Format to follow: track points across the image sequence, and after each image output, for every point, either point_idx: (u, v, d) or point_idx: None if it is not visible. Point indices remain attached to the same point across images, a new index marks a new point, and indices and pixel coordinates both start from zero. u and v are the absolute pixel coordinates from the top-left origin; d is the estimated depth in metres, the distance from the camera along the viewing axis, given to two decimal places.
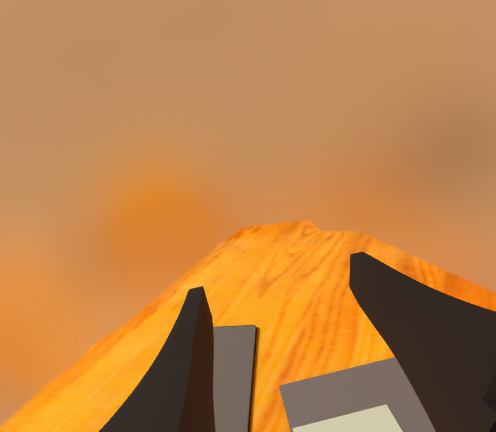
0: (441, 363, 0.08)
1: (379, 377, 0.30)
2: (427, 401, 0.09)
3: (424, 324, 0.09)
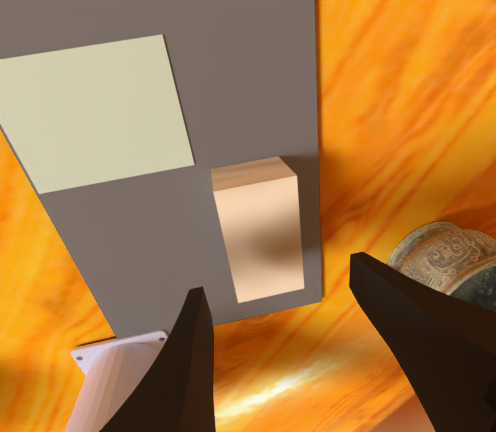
0: (441, 363, 0.08)
1: None
2: (427, 401, 0.09)
3: (424, 324, 0.09)
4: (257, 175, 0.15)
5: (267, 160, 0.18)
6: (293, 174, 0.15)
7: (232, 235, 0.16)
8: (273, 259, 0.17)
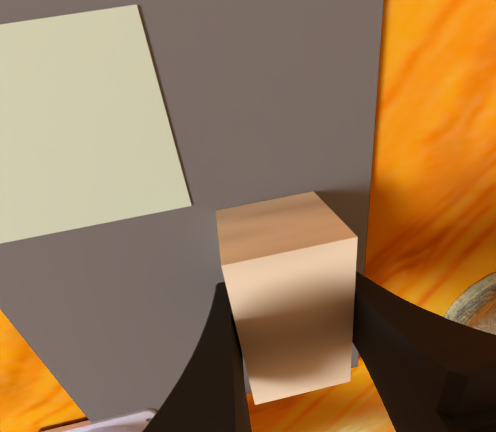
0: (401, 373, 0.08)
1: None
2: (392, 410, 0.09)
3: (386, 333, 0.09)
4: (291, 232, 0.10)
5: (298, 198, 0.12)
6: (350, 234, 0.09)
7: (250, 323, 0.10)
8: (309, 349, 0.11)
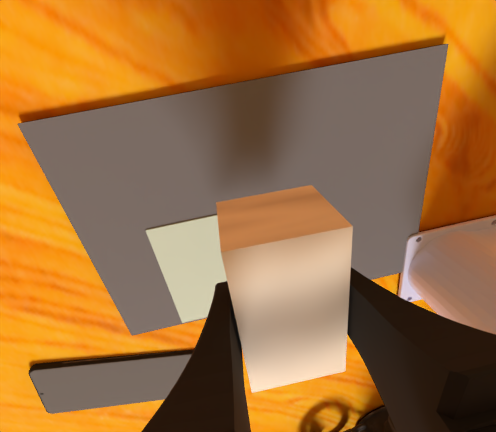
0: (402, 373, 0.08)
1: (101, 226, 0.19)
2: (393, 410, 0.09)
3: (386, 333, 0.09)
4: (288, 221, 0.10)
5: (297, 191, 0.12)
6: (346, 224, 0.09)
7: (248, 310, 0.10)
8: (305, 338, 0.11)
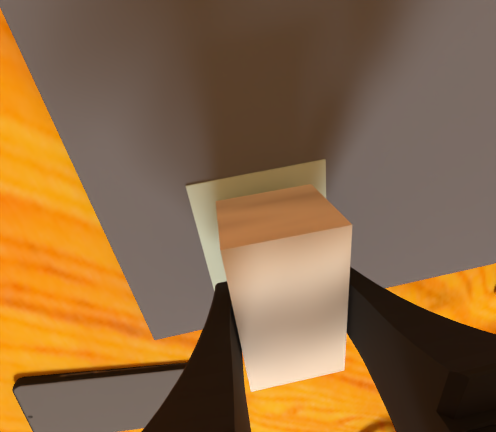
0: (402, 373, 0.08)
1: (121, 178, 0.13)
2: (393, 410, 0.09)
3: (386, 333, 0.09)
4: (288, 220, 0.10)
5: (296, 190, 0.12)
6: (345, 222, 0.09)
7: (247, 308, 0.10)
8: (304, 337, 0.11)
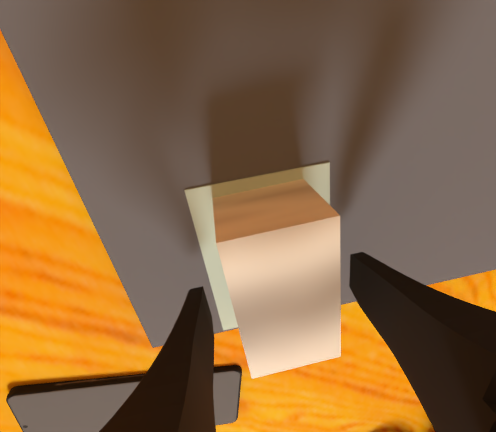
0: (441, 363, 0.08)
1: (118, 182, 0.12)
2: (427, 401, 0.09)
3: (424, 324, 0.09)
4: (280, 213, 0.11)
5: (289, 185, 0.13)
6: (334, 213, 0.10)
7: (244, 298, 0.11)
8: (300, 324, 0.12)
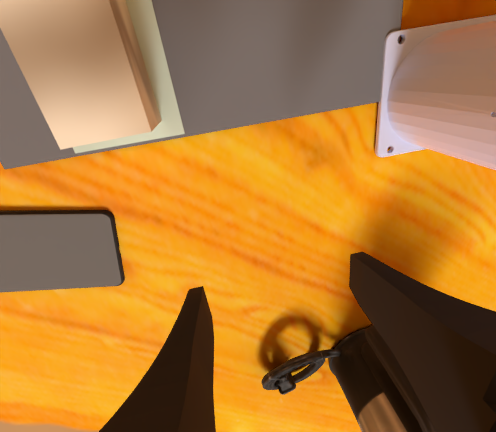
0: (441, 363, 0.08)
1: None
2: (428, 400, 0.09)
3: (424, 324, 0.09)
4: None
5: None
6: None
7: (11, 20, 0.11)
8: (89, 73, 0.12)
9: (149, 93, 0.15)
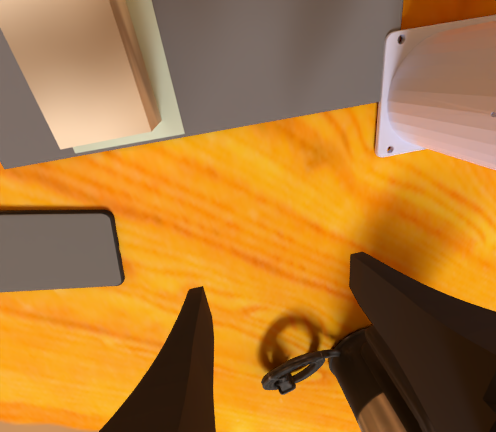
0: (441, 363, 0.08)
1: None
2: (427, 400, 0.09)
3: (424, 324, 0.09)
4: None
5: None
6: None
7: (11, 20, 0.11)
8: (89, 73, 0.12)
9: (149, 93, 0.15)
